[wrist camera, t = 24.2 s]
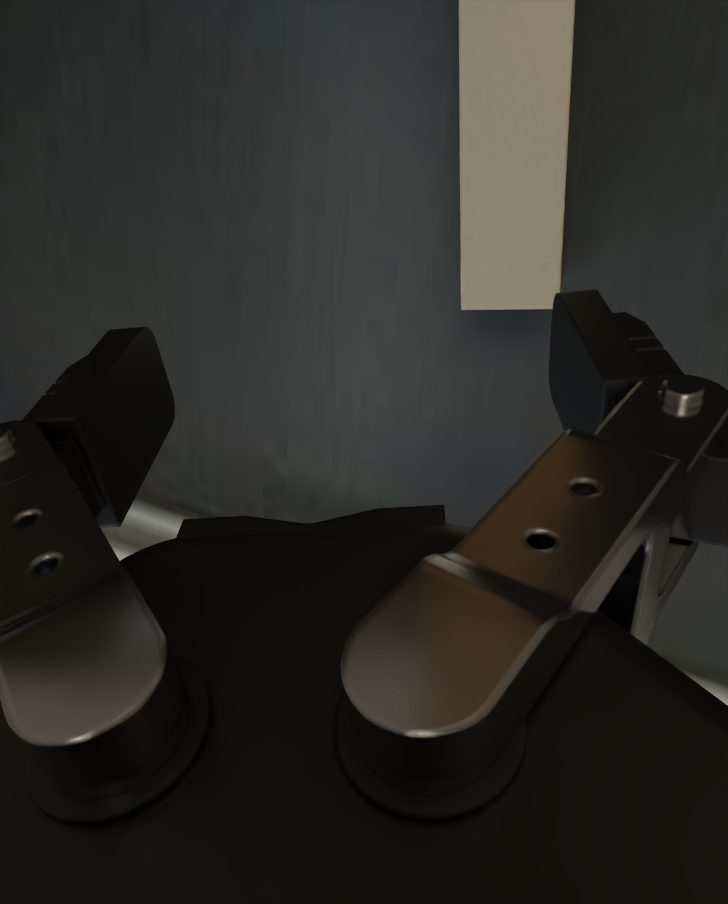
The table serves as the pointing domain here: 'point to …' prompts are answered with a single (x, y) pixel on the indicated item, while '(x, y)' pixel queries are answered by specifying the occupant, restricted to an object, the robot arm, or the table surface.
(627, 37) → the table surface
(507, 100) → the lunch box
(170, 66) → the table surface
